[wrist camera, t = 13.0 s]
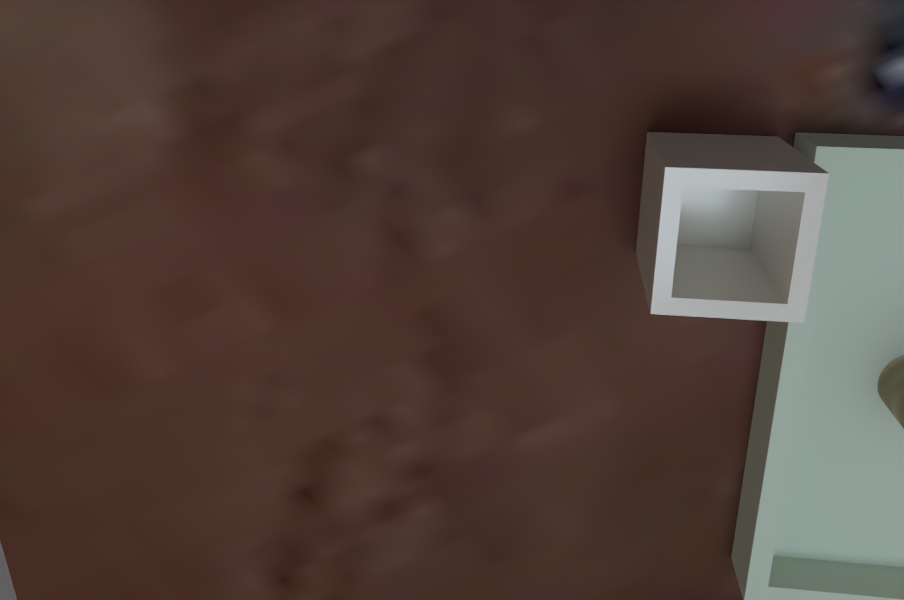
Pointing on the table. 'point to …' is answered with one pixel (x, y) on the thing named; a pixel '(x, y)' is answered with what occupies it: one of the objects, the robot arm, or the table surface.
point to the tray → (833, 400)
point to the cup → (728, 226)
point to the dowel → (893, 388)
